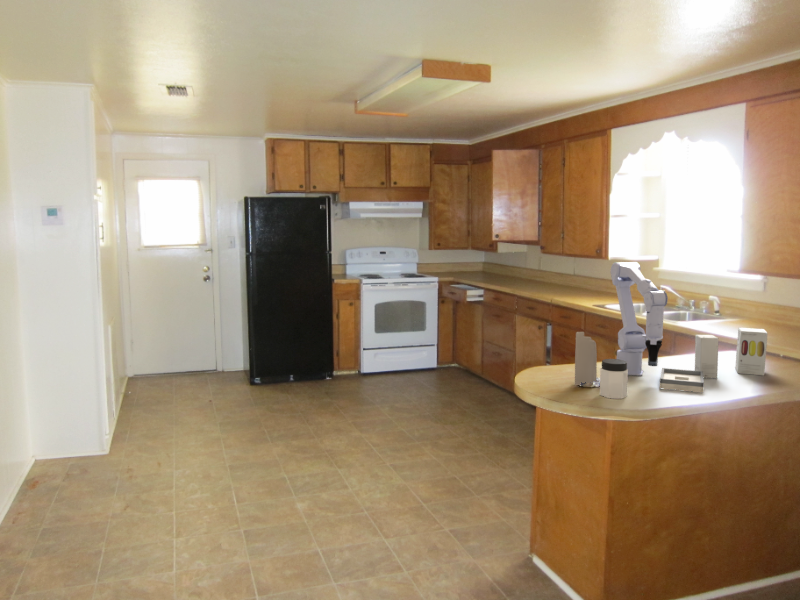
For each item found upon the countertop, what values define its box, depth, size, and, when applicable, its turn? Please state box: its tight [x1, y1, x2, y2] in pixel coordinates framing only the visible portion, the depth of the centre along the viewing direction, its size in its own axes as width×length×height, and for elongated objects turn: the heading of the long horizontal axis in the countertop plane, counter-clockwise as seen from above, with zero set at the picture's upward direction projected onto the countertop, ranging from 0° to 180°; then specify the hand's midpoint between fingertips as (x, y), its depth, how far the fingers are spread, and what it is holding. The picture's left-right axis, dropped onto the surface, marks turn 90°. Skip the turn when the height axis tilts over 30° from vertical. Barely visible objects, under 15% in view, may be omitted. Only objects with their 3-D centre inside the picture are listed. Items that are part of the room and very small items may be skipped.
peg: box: [647, 353, 659, 367], centre depth 231 cm, size 3×3×7 cm
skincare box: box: [694, 334, 720, 379], centre depth 241 cm, size 8×7×16 cm
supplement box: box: [734, 327, 769, 376], centre depth 247 cm, size 10×9×17 cm
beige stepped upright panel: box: [574, 331, 598, 386], centre depth 229 cm, size 7×14×20 cm, turn 91°
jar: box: [599, 358, 629, 400], centre depth 216 cm, size 9×8×12 cm
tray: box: [659, 367, 705, 394], centre depth 230 cm, size 14×18×4 cm
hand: (652, 360), depth 231 cm, fingers closed on peg, 3 cm apart
